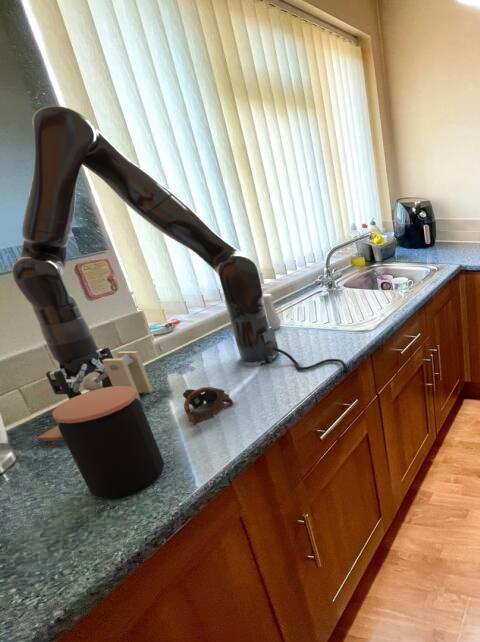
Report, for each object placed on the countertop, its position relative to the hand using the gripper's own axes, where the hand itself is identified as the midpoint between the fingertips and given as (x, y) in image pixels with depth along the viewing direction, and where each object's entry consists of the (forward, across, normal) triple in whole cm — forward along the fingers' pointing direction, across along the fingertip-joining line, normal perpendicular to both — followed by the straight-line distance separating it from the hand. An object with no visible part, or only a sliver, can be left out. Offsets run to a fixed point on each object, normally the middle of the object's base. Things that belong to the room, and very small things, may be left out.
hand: (95, 395), depth 102 cm
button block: (+2, -13, -9) cm, 16 cm away
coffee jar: (+2, -29, -31) cm, 42 cm away
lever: (-5, 0, -6) cm, 8 cm away
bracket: (+2, 0, -10) cm, 10 cm away
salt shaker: (+2, +47, -21) cm, 51 cm away
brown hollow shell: (+2, -7, -32) cm, 33 cm away
